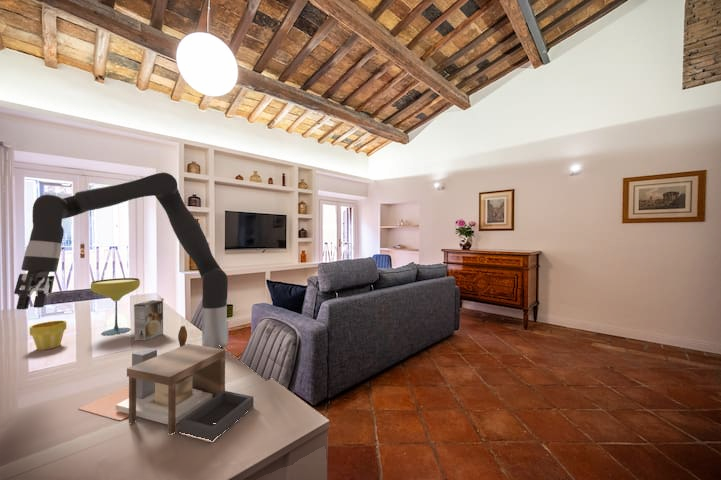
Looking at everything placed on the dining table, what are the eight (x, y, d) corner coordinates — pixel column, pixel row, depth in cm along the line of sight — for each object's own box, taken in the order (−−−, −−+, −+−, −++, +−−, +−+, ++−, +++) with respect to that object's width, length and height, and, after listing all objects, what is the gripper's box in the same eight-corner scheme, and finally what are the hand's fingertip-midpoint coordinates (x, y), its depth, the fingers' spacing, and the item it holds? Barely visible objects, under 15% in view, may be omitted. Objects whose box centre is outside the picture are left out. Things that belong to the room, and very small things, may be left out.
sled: (160, 387, 85) (160, 343, 85) (212, 399, 79) (212, 351, 79) (115, 410, 74) (115, 359, 74) (172, 425, 68) (173, 370, 68)
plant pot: (24, 349, 115) (24, 325, 114) (59, 341, 124) (59, 319, 124) (36, 353, 111) (36, 329, 111) (71, 344, 120) (71, 321, 120)
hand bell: (170, 370, 98) (170, 324, 98) (197, 365, 101) (197, 321, 101) (164, 381, 90) (164, 331, 90) (194, 376, 94) (194, 328, 94)
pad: (140, 380, 91) (140, 379, 91) (178, 388, 86) (178, 388, 86) (78, 409, 75) (78, 408, 75) (120, 421, 71) (120, 420, 71)
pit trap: (223, 401, 80) (223, 390, 80) (253, 407, 77) (253, 396, 77) (178, 433, 66) (178, 421, 66) (212, 443, 63) (212, 430, 63)
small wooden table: (187, 389, 85) (187, 343, 85) (224, 397, 81) (225, 349, 81) (126, 424, 69) (126, 368, 69) (169, 437, 65) (169, 377, 65)
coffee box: (152, 333, 136) (152, 299, 135) (163, 334, 134) (163, 300, 134) (133, 339, 127) (133, 304, 126) (145, 340, 125) (145, 305, 125)
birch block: (175, 393, 80) (176, 372, 80) (192, 396, 78) (192, 375, 78) (154, 405, 74) (154, 382, 74) (172, 409, 72) (172, 386, 72)
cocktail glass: (132, 323, 150) (133, 277, 149) (145, 330, 139) (145, 280, 139) (86, 332, 135) (86, 281, 135) (95, 341, 124) (96, 284, 124)
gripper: (46, 255, 85) (34, 310, 82) (68, 259, 98) (58, 306, 95) (11, 253, 82) (-4, 310, 79) (38, 257, 95) (27, 306, 92)
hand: (30, 308), depth 87 cm, fingers open, 8 cm apart
